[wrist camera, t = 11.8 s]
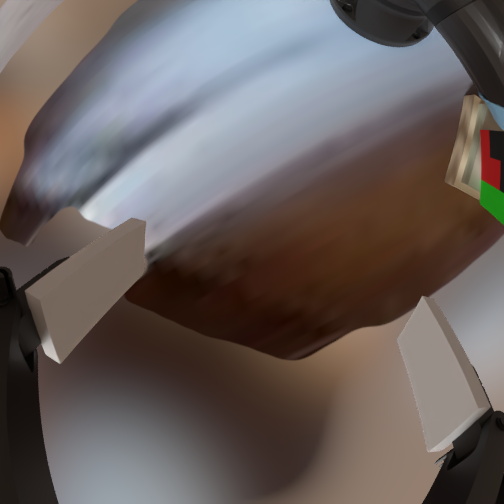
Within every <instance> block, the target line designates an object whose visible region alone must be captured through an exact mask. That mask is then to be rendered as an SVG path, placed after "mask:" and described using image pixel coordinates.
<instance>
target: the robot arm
mask: <svg viewBox="0 0 504 504" xmlns="http://www.w3.org/2000/svg"><path fill="white" fill-rule="evenodd" d="M330 3H331V5H332V7H333V9H334V11H335V12H336V14H337V15H338V17H339V18H340V19H341V20H342V21H343V22H344V23H345V24H346V25H347V26H348V27H349V28H351V29H352V30H353V31H355V32H356V33H358V34H359V35H361V36H363V37H364V38H366V39H368V40H371V41H373V42H376V43H378V44H382V45H386V46H391V47H407V46H411V45H414V44H416V43H418V42H420V41H421V40H423V39H424V38H426V37H427V36H428V35H429V34H430V32H431V31H432V29H433V27H434V26H435V28H436V29H437V30H438V31H439V33H440V34H441V35H442V37H443V38H444V39H445V40H446V42H447V43H448V44H449V46H450V47H451V49H452V50H453V51H454V53H455V54H456V56H457V57H458V59H459V60H460V62H461V63H462V65H463V66H464V68H465V70H466V71H467V73H468V74H469V76H470V78H471V79H472V81H473V83H474V85H475V86H476V89H477V92H478V94H479V96H480V97H481V98H482V100H483V101H485V103H486V105H487V107H488V108H489V110H490V112H491V114H492V116H493V118H494V120H495V121H496V123H497V124H498V125H499V127H500V128H501V129H502V130H504V0H330ZM145 228H146V221H143V220H139V219H135V218H131V219H129V220H127V221H126V222H124V223H122V224H121V225H119V226H117V227H116V228H114V229H113V230H111V231H109V232H108V233H106V234H105V235H103V236H101V237H100V238H98V239H97V240H95V241H94V242H92V243H91V244H89V245H88V246H86V247H85V248H83V249H82V250H80V251H79V252H77V253H76V254H75V255H73V256H71V257H66V258H64V259H61V260H58V261H56V262H55V263H53V264H52V265H50V266H49V267H48V269H47V268H46V269H45V270H43V271H42V272H41V274H38V275H36V276H35V277H34V278H32V279H31V280H30V281H28V282H27V283H26V284H24V285H23V286H22V287H21V288H19V289H18V290H16V287H15V283H14V279H13V275H12V272H11V270H10V269H9V268H7V267H0V504H58V500H57V497H56V494H55V490H54V486H53V483H52V479H51V474H50V470H49V466H48V461H47V456H46V451H45V445H44V438H43V431H42V424H41V416H40V404H39V388H38V353H37V349H36V348H37V346H38V345H39V344H40V343H41V344H42V346H43V349H44V351H45V354H46V355H48V356H49V357H50V358H52V359H54V360H55V361H57V362H58V363H62V362H63V360H64V359H65V358H66V357H67V356H68V355H69V353H70V352H71V351H72V350H73V349H74V347H75V346H76V345H77V344H78V343H79V342H80V341H81V340H82V338H83V337H84V336H85V335H86V334H87V333H88V332H89V331H90V329H91V328H92V327H93V326H94V325H95V324H96V323H97V322H98V321H99V320H100V319H101V317H102V316H103V315H104V314H105V313H106V312H107V311H108V310H109V309H110V308H111V307H112V306H113V305H114V304H115V302H116V301H117V300H118V299H119V298H120V297H121V296H122V295H123V294H124V293H125V292H126V291H127V290H128V289H129V288H130V287H131V286H132V285H133V284H134V283H135V282H136V281H137V280H138V279H139V278H140V277H141V276H142V275H143V274H144V247H145ZM397 342H398V345H399V348H400V351H401V354H402V357H403V360H404V363H405V366H406V370H407V373H408V376H409V379H410V383H411V386H412V390H413V393H414V397H415V400H416V404H417V408H418V412H419V416H420V420H421V423H422V428H423V433H424V437H425V442H426V447H427V452H435V451H441V450H443V449H444V448H446V447H447V446H448V445H449V444H450V443H453V447H454V448H453V449H451V450H450V451H449V452H447V453H446V454H445V455H444V456H442V457H441V458H439V459H438V460H437V461H436V462H435V464H438V463H439V462H441V461H442V460H444V463H442V464H441V465H440V466H439V467H440V468H441V469H440V471H439V473H438V475H437V477H436V479H435V481H434V483H433V485H432V487H431V489H430V491H429V492H428V494H427V496H426V498H425V499H424V501H423V503H422V504H504V413H503V412H501V411H495V412H494V410H493V408H492V406H491V403H490V401H489V398H488V396H487V394H486V392H485V389H484V387H483V386H482V383H481V381H480V379H478V378H479V377H478V374H477V372H476V370H475V369H474V367H473V366H472V365H471V363H470V361H469V359H468V357H467V355H466V353H465V351H464V349H463V348H462V346H461V344H460V342H459V340H458V338H457V337H456V335H455V333H454V331H453V329H452V328H451V326H450V324H449V323H448V321H447V319H446V318H445V316H444V315H443V313H442V311H441V309H440V308H439V306H438V305H437V303H436V301H435V300H434V299H432V298H428V297H425V296H422V298H421V299H420V301H419V303H418V305H417V307H416V308H415V310H414V312H413V314H412V316H411V317H410V319H409V321H408V322H407V324H406V326H405V327H404V329H403V331H402V332H401V334H400V335H399V337H398V339H397Z"/></svg>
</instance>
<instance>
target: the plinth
mask: <svg viewBox="0 0 504 504" xmlns="http://www.w3.org/2000/svg"><path fill="white" fill-rule="evenodd" d="M480 130H494V131H504V130H502V129H501V128H500V127H499V125H498V124H497V123H496V121H495V120H494V118H493V116H492V114H491V112H490V110H489V108H488V107H487V105H486V103H485V101H483V100H482V99H481V98H479V97H478V96H476V95H467V96H464V101H463V107H462V112H461V117H460V122H459V127H458V132H457V136H456V140H455V144H454V148H453V152H452V156H451V159H450V163H449V167H448V170H447V173H446V177H445V180H444V182H446V183H448V184H450V185H452V186H454V187H456V188H458V189H460V190H462V191H463V192H465V193H467V194H469V195H471V196H473V197H474V198H476V199H478V200H480V192H481V138H480Z"/></svg>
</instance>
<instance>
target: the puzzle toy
mask: <svg viewBox="0 0 504 504" xmlns="http://www.w3.org/2000/svg"><path fill="white" fill-rule="evenodd" d="M480 138H481V192H480V204H481V205H482V206H483V207H484V208H485V209H486V210H488V211H489V212H490V213H491V214H492V215H493V216H494V217H495V218H496V219H498V220H499V221H500V222H501V223H502V224H503V225H504V131H494V130H480Z"/></svg>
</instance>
